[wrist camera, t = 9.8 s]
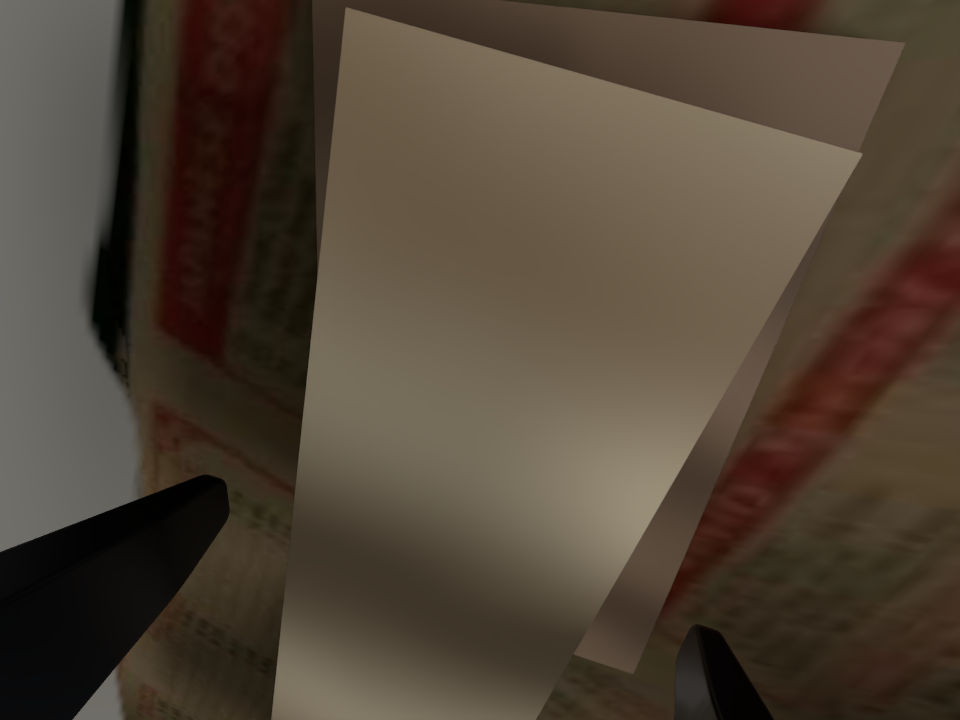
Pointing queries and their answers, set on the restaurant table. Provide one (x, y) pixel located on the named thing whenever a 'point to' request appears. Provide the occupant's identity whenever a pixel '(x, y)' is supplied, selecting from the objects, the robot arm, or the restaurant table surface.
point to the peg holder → (684, 78)
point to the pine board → (511, 360)
